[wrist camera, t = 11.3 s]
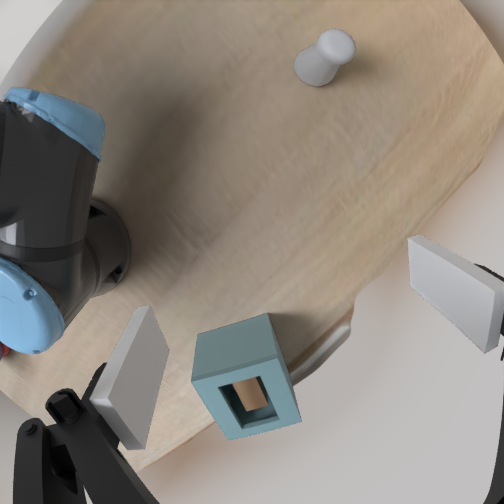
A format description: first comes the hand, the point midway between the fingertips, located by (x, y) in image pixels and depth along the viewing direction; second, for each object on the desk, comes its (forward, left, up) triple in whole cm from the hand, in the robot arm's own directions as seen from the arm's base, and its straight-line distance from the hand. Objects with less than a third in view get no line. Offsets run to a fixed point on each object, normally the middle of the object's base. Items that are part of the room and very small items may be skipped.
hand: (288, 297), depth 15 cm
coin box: (-9, -25, -31) cm, 41 cm away
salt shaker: (+14, +15, -31) cm, 38 cm away
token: (-9, -25, -30) cm, 40 cm away
